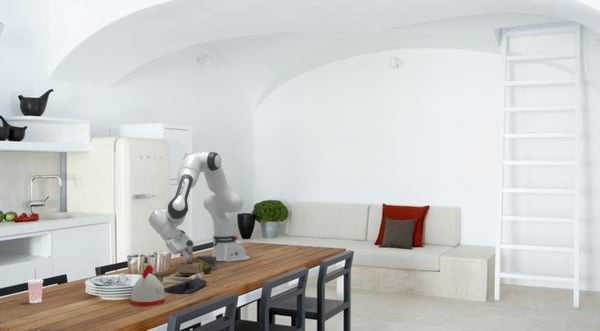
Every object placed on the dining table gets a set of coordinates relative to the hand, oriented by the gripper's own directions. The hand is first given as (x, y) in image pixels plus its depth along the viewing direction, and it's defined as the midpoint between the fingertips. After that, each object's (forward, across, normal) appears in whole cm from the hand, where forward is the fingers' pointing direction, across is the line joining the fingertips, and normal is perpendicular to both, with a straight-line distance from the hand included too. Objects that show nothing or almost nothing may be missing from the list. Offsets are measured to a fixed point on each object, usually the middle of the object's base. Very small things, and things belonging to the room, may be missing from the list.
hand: (190, 256), depth 310 cm
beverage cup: (-22, -65, +36) cm, 78 cm away
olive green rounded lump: (+7, +12, +8) cm, 16 cm away
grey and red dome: (+10, -54, +4) cm, 55 cm away
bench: (+7, +4, +8) cm, 11 cm away
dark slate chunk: (+14, -26, +1) cm, 30 cm away
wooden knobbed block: (+6, +1, +7) cm, 9 cm away
